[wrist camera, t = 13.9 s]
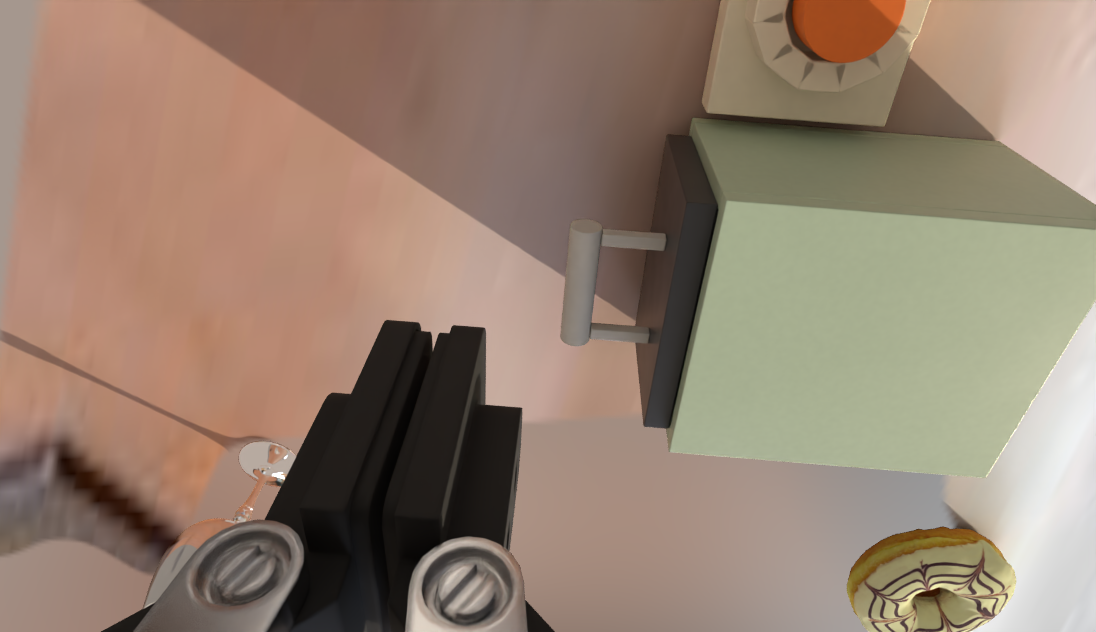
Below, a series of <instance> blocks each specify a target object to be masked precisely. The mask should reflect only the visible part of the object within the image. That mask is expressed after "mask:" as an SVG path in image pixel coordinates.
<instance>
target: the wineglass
mask: <svg viewBox="0 0 1096 632" xmlns="http://www.w3.org/2000/svg"><path fill="white" fill-rule="evenodd" d="M295 458H296V455H295V454H294V453H293V452H292V451H291V450H289V449H288V448H286V447H284V446H282V445H280V444H277V443H274V442H269V441H255V442H251V443H249V444H247V445H245V446H244V447H243V448H242V449H241V450H240V452H239V463H240V466H241V468H242V469H243V470H244V472H245V473H246V474H247V475H249V476H250V477H251V478H252V479H254V480H256V481H257V484H256V486H255V487H254V489H253V491H252V493H251V495H250V496H249V498H248V499H247V500H246V502H245V503H244V504H243V505H242V506H241V507H240V508H239V509H238V510H237V511H236V513H235V516H234V518H233V520H229V519H208V520H204V521H201V522H198V523H196V524H194V525H192V526H190V527H188V528H187V529H185V530H184V531H183V532H182V533H181V534H180V535H179V536H177V538H176V539H175V540H174V541H173V542H172V544H171V545H170V546H169V548H168V549H167V550H166V552H165V554H164V555H163V557H162V559H161V561H160V563H159V565H158V567H157V569H156V571H155V574H154V576H153V579H152V581H151V583H150V586H149V590H148V593H147V596H146V599H145V602H144V606H143V609H144V608H146V607H148V606H149V605H151V604H153V603H155V602H156V601H157V600H158V599H159V597H160V596H161V595H162V593H163V592H164V591H165V590H166V588H167V587H168V586H169V584H170V583H171V582H172V580H173V579H174V578H175V577H176V575H177V574H178V573H179V571H180V570H181V569H182V567H183V566H184V565H185V564H186V562H187V561H188V560H189V558H190V557H191V556H192V554H193V553H194V552H195V551H196V550H197V549H198V548H199V547H200V546H201V545H202V544H203V543H204V542H205V541H206V540H207V539H209V538H210V537H212V536H214V535H215V534H217V533H218V532H220V531H221V530H223V529H225V528H228V527H230V526H233V525H235V524H238V523H241V522H246V521H250V519H251V515H252V512H253V507H254V503H255V501H256V498H257V496H258V494H259V493H260V490H261V489H262V487H263V485H264V484H266V485H270V486H276V487H281V486H282V484H283V482H284V480H285V478H286V476H287V474H288V472H289V470H290V468H291V466H292V464H293V462H294V460H295Z"/></svg>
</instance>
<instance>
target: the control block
mask: <svg viewBox="0 0 1096 632" xmlns="http://www.w3.org/2000/svg"><path fill="white" fill-rule="evenodd" d="M793 1H794V0H721V2H720V7H719V12H718V18H717V23H716V28H715V33H714V39H713V44H712V49H711V55H710V60H709V65H708V71H707V76H706V81H705V86H704V92H703V97H702V104H703V106H704V108H705V110H706V112H707V113H710V114H723V115H736V116H749V117H762V118H775V119H788V120H800V121H813V122H826V123H839V124H852V125H865V126H878V127H884V126H885V123H886V121H887V118H888V115H889V112H890V109H891V106H892V103H893V100H894V98H895V95H896V92H897V89H898V86H899V83H900V80H901V77H902V75H903V72H904V69H905V66H906V63H907V60H908V57H909V54H910V52H911V49H912V46H913V43H914V40H915V39H916V38H917V35H919V32H920V30H921V27H922V24H923V21H924V18H925V15H926V12H927V10H928V7H929V4H930V1H931V0H906V5H905V10H904V14H903V17H902V20H901V22H900V24H899V26H898V28H897V30H896V31H895V33H894V34H893V36H892V37H891V38H890V39H889V41H888V42H887V43H886V44H885V45H884V46H883V47H881V48H880V49H879V50H878V51H876V52H875V53H873V54H872V55H870V56H868V57H866V58H864V59H861V60H858V61H855V62H850V63H836V62H831V61H828V60H825V59H823V58H821V57H820V56H818V55H817V54H816V53H815V52H813V51H812V50H811V49H810V48H808V47H807V46H806V45H805V44H804V43H803V42H802V41H801V40H800V39H799V37H798V36H797V34H796V32H795V29H794V26H793V21H792V7H793Z"/></svg>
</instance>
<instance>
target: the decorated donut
mask: <svg viewBox="0 0 1096 632" xmlns="http://www.w3.org/2000/svg"><path fill="white" fill-rule="evenodd" d="M1015 584H1016V577H1015V572H1014V570H1013V568H1012V566H1011V565H1010V564H1009V563H1007V562H1006V560H1005V558H1004V557H1003V555H1002V553H1001V552H1000V550H999V549H998V548H997V547H996V546H995V545H994V543H993V542H992V541H990V540H988V539H987V538H986V537H984V536H982V535H980V534H978V533H976V532H975V531H973V530H969V529H958V528H955V529H949V528H947V527H939V528H935V529H928V530H922V529H916V530H914V531H909V532H906V533H900V534H895V535H892V536H890V537H887V538H886V539H883V540H881V541H879V542H878V543H877V544H875V545H873V546H872V547H871V548H869V549H868V550H866V551H865V553H864V554H862V555H861V556H860V558H859V559H858V560H857V561H856V563H855V564H854V566H853V567H852V568H851V571H850V575H849V578H848V583H847V593H848V596H849V599H850V602H851V605H852V607H853V609H854V612H855V614H856V615H857V616H858V617H859V619H860V621H861V623H862V625H863V626H864V627H865V628H866V629H867V630H868V631H869V632H970V631H972V630H974V629H976V628H978V627H980V626H982V625H984V624H985V623H987V622H989V621H990V620H992V619H993V618H994V617H995V616H996V615H998V614H999V613H1000V611H1001V610H1002V609H1003V608H1004V607H1005V605H1006V604H1007V602H1008V601H1009V600H1010V599H1011V597H1012V595H1013V593H1014V589H1015Z"/></svg>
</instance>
